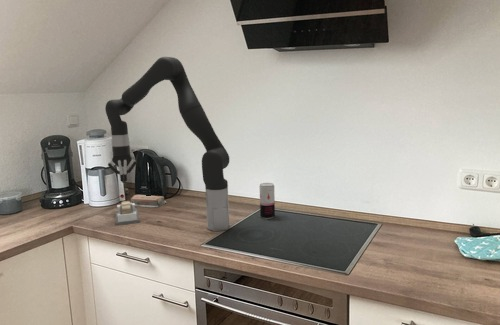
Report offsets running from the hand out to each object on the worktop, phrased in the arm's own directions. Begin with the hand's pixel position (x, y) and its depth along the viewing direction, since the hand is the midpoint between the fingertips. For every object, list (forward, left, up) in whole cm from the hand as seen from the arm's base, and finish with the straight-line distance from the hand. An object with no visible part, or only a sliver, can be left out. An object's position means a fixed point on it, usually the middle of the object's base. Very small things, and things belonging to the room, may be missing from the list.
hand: (124, 182), depth 182 cm
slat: (0, 0, -16) cm, 16 cm away
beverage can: (-25, -60, -17) cm, 67 cm away
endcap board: (0, 0, -17) cm, 17 cm away
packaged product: (+19, -10, -17) cm, 28 cm away
